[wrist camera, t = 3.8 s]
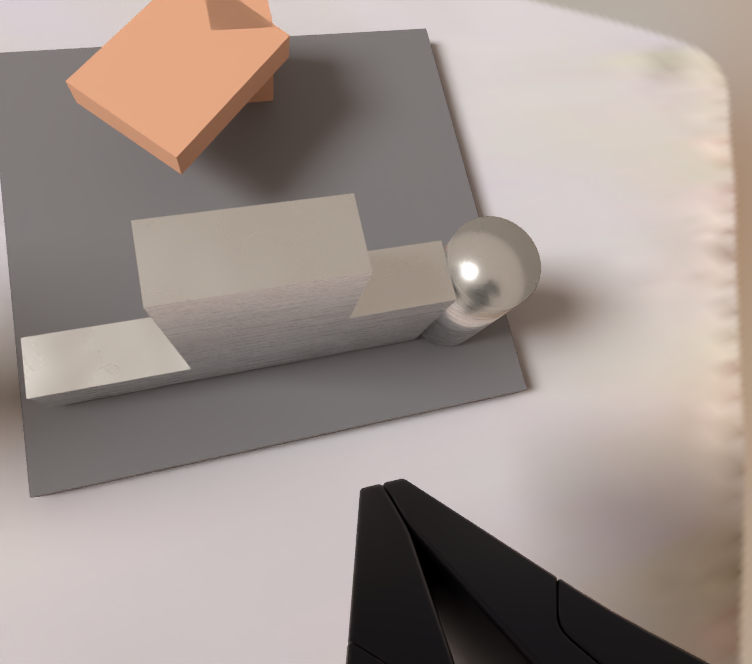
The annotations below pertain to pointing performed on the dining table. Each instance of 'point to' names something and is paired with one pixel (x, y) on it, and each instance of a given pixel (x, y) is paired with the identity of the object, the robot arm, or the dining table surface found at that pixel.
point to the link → (281, 297)
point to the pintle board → (215, 192)
